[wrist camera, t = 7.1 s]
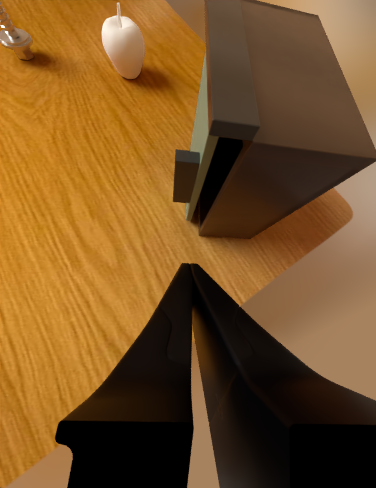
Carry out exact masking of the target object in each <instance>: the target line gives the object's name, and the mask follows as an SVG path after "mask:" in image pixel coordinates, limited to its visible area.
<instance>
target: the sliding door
mask: <svg viewBox="0 0 376 488" xmlns="http://www.w3.org/2000/svg"><path fill="white" fill-rule="evenodd" d="M218 139H219V137H218V136H210V135H209V133H208V101H207V68H206V51H205V58H204V64H203V70H202V77H201V83H200V90H199V96H198V102H197V109H196V115H195V121H194V128H193V134H192V141H191V147H190V151H185V150H177V149H176V153H175V172H174V190H173V202H181V203H186V220H188V221H191V219H192V216H193V213H194V210H195V207H196V204H197V201H198V198H199V195H200V192H201V189H202V186H203V183H204V180H205V177H206V174H207V171H208V168H209V166H210V163H211V160H212V157H213V154H214V151H215V148H216V145H217V142H218Z"/></svg>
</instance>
